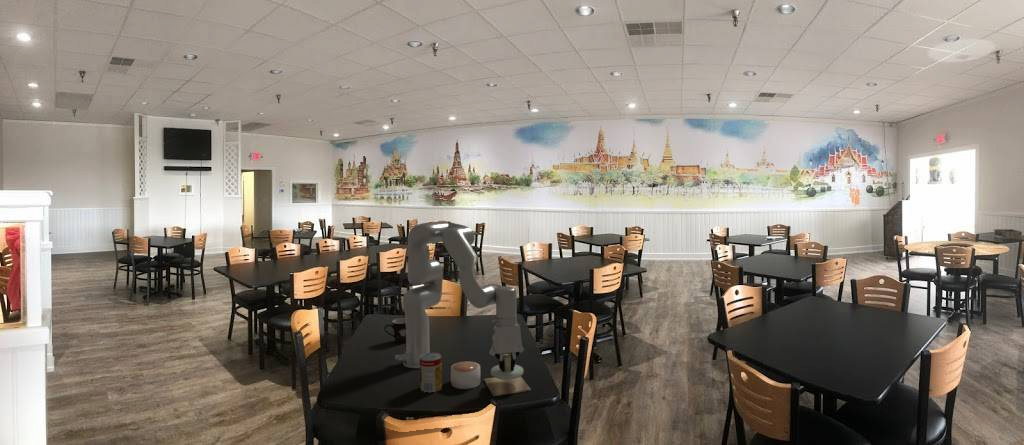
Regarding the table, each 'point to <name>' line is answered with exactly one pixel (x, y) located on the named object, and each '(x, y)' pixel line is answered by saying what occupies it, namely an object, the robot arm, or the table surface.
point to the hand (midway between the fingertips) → (507, 369)
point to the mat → (506, 386)
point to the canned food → (431, 372)
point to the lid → (507, 369)
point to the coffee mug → (398, 330)
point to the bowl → (465, 375)
